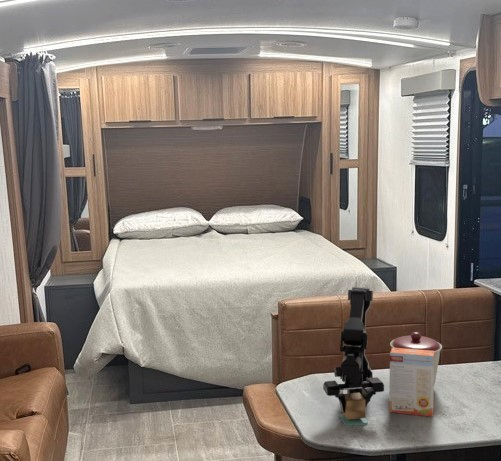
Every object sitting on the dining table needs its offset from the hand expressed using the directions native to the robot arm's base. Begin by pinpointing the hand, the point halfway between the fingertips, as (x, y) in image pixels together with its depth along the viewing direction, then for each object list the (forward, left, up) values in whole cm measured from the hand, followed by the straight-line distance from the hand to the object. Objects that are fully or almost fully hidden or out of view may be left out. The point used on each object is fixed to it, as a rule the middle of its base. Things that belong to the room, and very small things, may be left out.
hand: (353, 411), depth 202 cm
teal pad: (0, 0, -3) cm, 3 cm away
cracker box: (-21, -3, -3) cm, 21 cm away
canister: (-30, -21, -3) cm, 37 cm away
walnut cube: (0, 0, -1) cm, 1 cm away
